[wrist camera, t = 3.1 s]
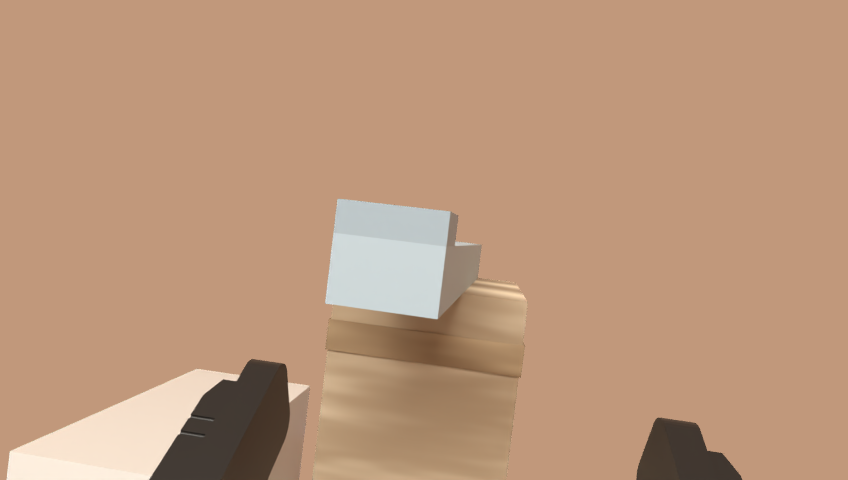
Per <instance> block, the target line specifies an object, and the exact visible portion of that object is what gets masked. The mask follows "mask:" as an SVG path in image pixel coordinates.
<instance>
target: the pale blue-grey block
mask: <svg viewBox="0 0 848 480" xmlns="http://www.w3.org/2000/svg"><path fill="white" fill-rule="evenodd" d="M457 223H458V215H456V214H454V213H452V212H449V211H440V210H432V209H423V208H414V207H406V206H396V205H388V204H379V203H371V202H362V201H353V200H344V199H338V201H337V210H336V217H335V226H334V234H333V243H332V251H331V260H330V268H329V276H328V285H327V293H326V302H325V303H327V304H333V305H340V306H347V307H354V308H361V309H368V310H375V311H382V312H389V313H396V314H403V315H411V316H418V317H425V318H432V319H438V318H439V317H440V316H441V315H442V314H443V313H444V312H445V311H446V310H447V309H448V308H449V307H450V306H451V305H452V304H453V303H454V302H455V301H456V300H457V299H458V298H459V297H460V296H461V295H462V294H463V293H464V292H465V291H466V290H467V289H468V288H469V287H470V285H471V284H472V283H473V282H474V281H475V280H476V279H477V278H478V270H479V262H480V253H481V245H479V244H471V243H463V242H455V239H456V231H457Z"/></svg>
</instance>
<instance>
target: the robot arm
mask: <svg viewBox="0 0 848 480" xmlns="http://www.w3.org/2000/svg"><path fill="white" fill-rule="evenodd" d="M289 421H290V405H289V392H288V379H287V368H286V365H285V364H282V363H275V362H268V361H262V360H255V359H251V360H250V361H249V362H248V363H247V364H246V366H245V368H244V369H243V371H242V373H241V375H240V376H239V378H238V380H237V381H231V380H225V379H223V380H222V381H220V382H219V383H218V384H216V385H215V386H214V387H213V388H211V389H210V390H209V391H207V392H206V393H205V394H204V395H203V396H202V398H201V399H200V401H199V402H198V404H197V405H196V407H195V408H194V410H193V412H192V413H191V417H190V418H188V419H187V421H186V423H185V424H184V426H183V427H182V429H181V432H180V434H178V435H177V437H176V438H175V440H174V441H173V443H172V444H171V446H170V448H169V449H168V451H167V452H166V454H165V455H164V457H163V459H162V460H161V462H160V463H159V465H158V466H157V468H156V470H155V471H154V473H153V474H152V476H151V477H150V479H149V480H268V478H269V475H270V473H271V471H272V468H273V466H274V464H275V462H276V459H277V457H278V455H279V452H280V450H281V448H282V445H283V443H284V441H285V438H286V435H287V431H288V427H289ZM637 480H742V478H741V476H740V475H739V473H738V472H737V471H736V470H735V468H734V467H733V466H732V465H731V463H730V462H729V461H728V460H727V459H726V457H725V456H724V455H723V454H722V453H717V452H711V451H707V449H706V446H705V443H704V440H703V437H702V434H701V431H700V428H699V427H698V425H697V424H696V423H692V422H685V421H678V420H672V419H665V418H657V419H656V420H655V422H654V424H653V427H652V430H651V433H650V435H649V438H648V441H647V444H646V446H645V449H644V452H643V455H642V457H641V460H640V463H639V466H638V470H637Z"/></svg>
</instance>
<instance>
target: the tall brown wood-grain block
mask: <svg viewBox="0 0 848 480" xmlns="http://www.w3.org/2000/svg"><path fill="white" fill-rule="evenodd" d="M527 305H528V302H527V300H526V299H525V297H524V296H523V294H522V292H521V291H520V289H519V288H518V286H517V284H516V283H513V282H506V281H498V280H490V279H482V278H477V279H476V280H475V281H474V282H473V283H472V284H471V285H470V287H469V288H468V289H467V290H466V291H465V292H464V293H463V294H462V295H461V296H460V297H459V298H458V299H457V300H456V301H455V302H454V303H453V304H452V305H451V306H450V307H449V308H448V309H447V310H446V311H445V312H444V313H443V314H442V315H441V316H440V317H439V318H438V319H432V318H425V317H418V316H411V315H403V314H396V313H389V312H382V311H375V310H368V309H361V308H354V307H347V306H340V305H333V308H332V317H331V318H330V319H329V322H328V331H327V340H326V348H325V349H328V351H327V359H326V368H325V377H324V386H323V393H322V401H321V402H322V403H321V410H320V419H319V427H318V436H317V444H316V452H315V461H314V469H313V478H312V480H506V477H507V468H508V460H509V452H510V444H511V435H512V427H513V419H514V410H515V403H516V395H517V387H518V378H519V377H521V372H522V364H523V356H524V347H525V345H524V343H523V338H524V329H525V321H526V314H527Z"/></svg>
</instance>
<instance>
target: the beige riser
mask: <svg viewBox="0 0 848 480" xmlns="http://www.w3.org/2000/svg"><path fill="white" fill-rule="evenodd" d="M239 376H240V375H235V374H228V373H222V372H214V371H208V370H202V369H196V370H193V371H191V372H189V373H186V374H185V375H182V376H180V377H178V378H175V379H173V380H170V381H168V382H166V383H164V384H162V385H159V386H157V387H155V388H152V389H150V390H148V391H146V392H143V393H141V394H139V395H137V396H134V397H132V398H130V399H128V400H125V401H123V402H121V403H118V404H116V405H114V406H111V407H109V408H107V409H105V410H103V411H100V412H98V413H96V414H93V415H91V416H89V417H87V418H84V419H82V420H80V421H78V422H75V423H73V424H71V425H68V426H66V427H64V428H62V429H59V430H57V431H55V432H52V433H50V434H48V435H46V436H44V437H41V438H39V439H37V440H34V441H32V442H30V443H28V444H25V445H23V446H21V447H18V448H16V449H14V450H12V451H10V455H9V464H8V472H7V480H149V479H150V477H151V476H152V474H153V473H154V471H155V470H156V468H157V466H158V465H159V463H160V462H161V460H162V459H163V457H164V455H165V454H166V452H167V451H168V449H169V448H170V446H171V444H172V443H173V441H174V440H175V438H176V437H177V435H178V434H180V432H181V429H182V427H183V426H184V424H185V423H186V421H187V419H188V418H190V417H191V413H192V412H193V410H194V408H195V407H196V405H197V404H198V402H199V401H200V399H201V398H202V396H203V395H204V394H205V393H206V392H207V391H209V390H210V389H211V388H213V387H214V386H215V385H216V384H218V383H219V382H220V381H222V380H223V379H225V380H231V381H237V380H238V378H239ZM309 391H310V386H307V385H301V384H294V383H288V392H289V405H290V421H289V427H288V431H287V435H286V438H285V441H284V443H283V445H282V448H281V450H280V452H279V455H278V457H277V459H276V462H275V464H274V466H273V468H272V471H271V473H270V475H269V478H268V480H299V475H300V467H301V458H302V450H303V442H304V433H305V425H306V416H307V408H308V399H309Z"/></svg>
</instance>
